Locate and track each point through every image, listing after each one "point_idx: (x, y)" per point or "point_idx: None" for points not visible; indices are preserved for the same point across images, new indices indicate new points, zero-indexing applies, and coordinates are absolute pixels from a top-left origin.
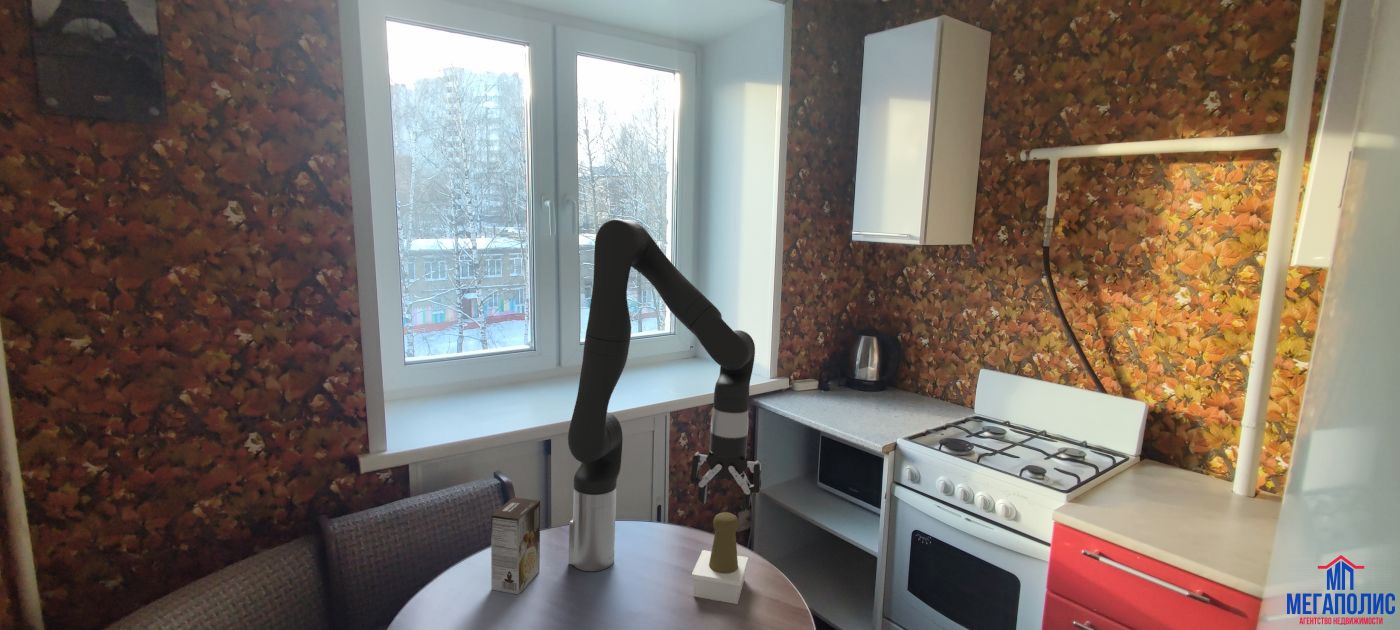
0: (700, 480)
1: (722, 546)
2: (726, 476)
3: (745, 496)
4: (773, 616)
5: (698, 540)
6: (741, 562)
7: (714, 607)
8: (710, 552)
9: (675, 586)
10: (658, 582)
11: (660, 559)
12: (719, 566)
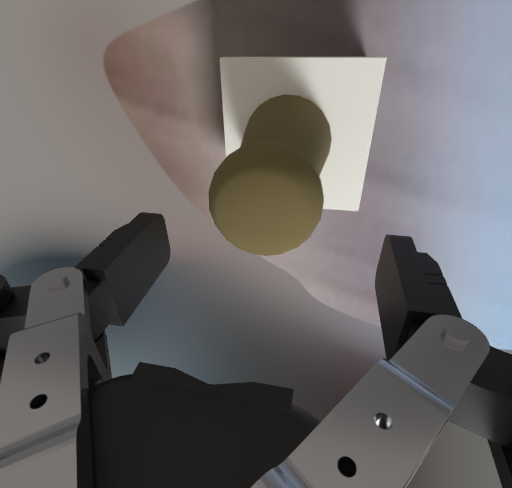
0: (477, 380)
1: (278, 126)
2: (184, 408)
3: (94, 260)
4: (149, 32)
5: (370, 300)
6: None
7: (301, 21)
8: (333, 203)
9: (424, 97)
10: (478, 103)
11: (468, 215)
12: (292, 101)
